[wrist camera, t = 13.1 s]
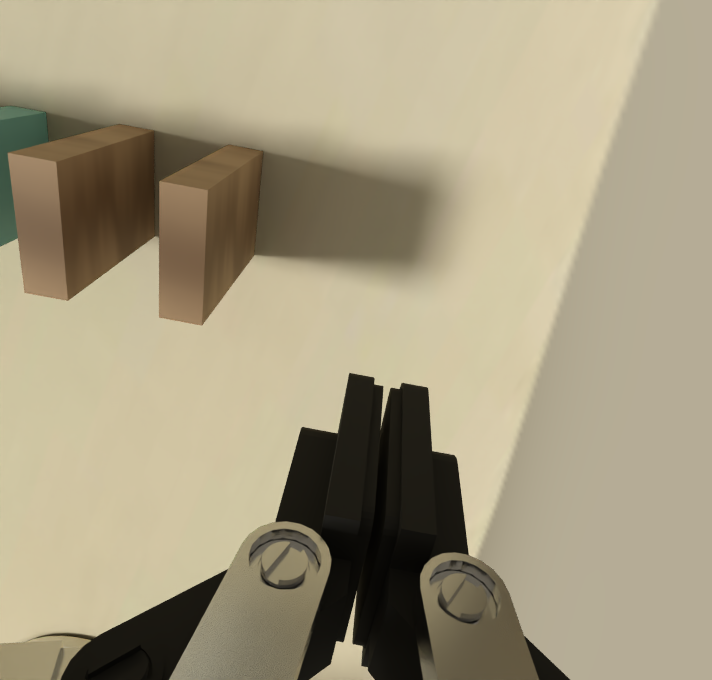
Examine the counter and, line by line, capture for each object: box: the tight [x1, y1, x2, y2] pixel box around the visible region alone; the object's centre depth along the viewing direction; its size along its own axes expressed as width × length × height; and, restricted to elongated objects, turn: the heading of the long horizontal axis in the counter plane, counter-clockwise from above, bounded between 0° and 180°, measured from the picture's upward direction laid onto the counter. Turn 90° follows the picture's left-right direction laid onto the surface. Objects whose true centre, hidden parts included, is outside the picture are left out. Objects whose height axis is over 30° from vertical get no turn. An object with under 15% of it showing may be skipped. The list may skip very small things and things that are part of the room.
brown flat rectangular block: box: [159, 145, 263, 325], centre depth 23 cm, size 5×2×8 cm, turn 170°
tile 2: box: [8, 124, 155, 301], centre depth 23 cm, size 5×2×8 cm, turn 170°
